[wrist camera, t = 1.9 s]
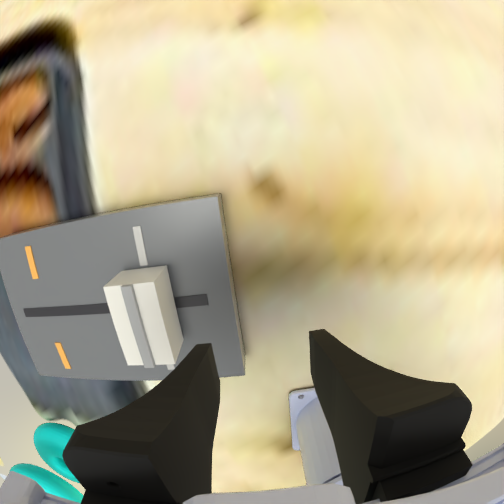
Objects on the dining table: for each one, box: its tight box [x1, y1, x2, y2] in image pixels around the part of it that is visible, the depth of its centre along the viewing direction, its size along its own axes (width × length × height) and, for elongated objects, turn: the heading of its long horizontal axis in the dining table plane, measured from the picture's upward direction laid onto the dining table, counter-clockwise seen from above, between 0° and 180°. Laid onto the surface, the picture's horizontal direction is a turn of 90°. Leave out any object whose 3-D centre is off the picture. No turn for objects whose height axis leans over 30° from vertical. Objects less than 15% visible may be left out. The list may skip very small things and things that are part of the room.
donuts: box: [9, 423, 83, 503], centre depth 21 cm, size 10×10×10 cm
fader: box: [103, 265, 184, 368], centre depth 17 cm, size 3×5×3 cm, turn 7°
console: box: [0, 193, 245, 380], centre depth 20 cm, size 18×12×3 cm, turn 97°
